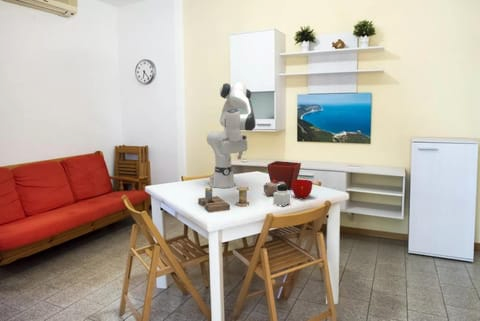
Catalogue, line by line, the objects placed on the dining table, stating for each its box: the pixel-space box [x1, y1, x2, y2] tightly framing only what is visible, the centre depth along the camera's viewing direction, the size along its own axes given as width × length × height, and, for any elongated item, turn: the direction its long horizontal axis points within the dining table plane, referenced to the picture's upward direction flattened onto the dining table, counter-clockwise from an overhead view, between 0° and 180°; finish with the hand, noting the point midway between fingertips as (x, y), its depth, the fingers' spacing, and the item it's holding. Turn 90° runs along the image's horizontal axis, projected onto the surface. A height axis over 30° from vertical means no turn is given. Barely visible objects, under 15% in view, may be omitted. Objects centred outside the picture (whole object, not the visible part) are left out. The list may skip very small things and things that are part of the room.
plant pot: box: [267, 160, 302, 191], centre depth 258 cm, size 19×19×17 cm
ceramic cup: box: [291, 179, 313, 199], centre depth 229 cm, size 13×17×10 cm
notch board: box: [197, 195, 231, 213], centre depth 210 cm, size 20×12×3 cm, turn 24°
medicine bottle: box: [272, 184, 291, 207], centre depth 214 cm, size 7×7×12 cm
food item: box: [263, 180, 286, 197], centre depth 236 cm, size 14×8×10 cm, turn 103°
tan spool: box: [235, 185, 250, 207], centre depth 214 cm, size 8×8×10 cm
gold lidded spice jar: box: [204, 187, 213, 204], centre depth 209 cm, size 4×4×11 cm
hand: (233, 160), depth 219 cm, fingers open, 8 cm apart
